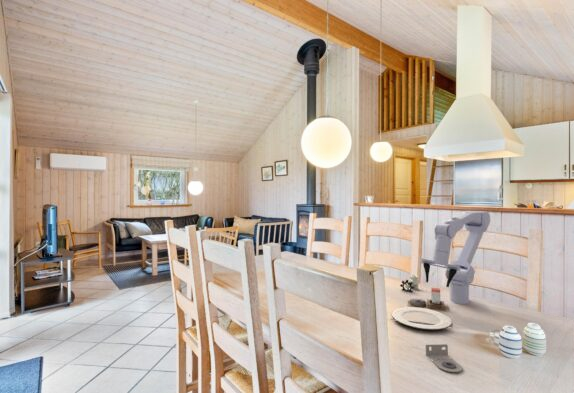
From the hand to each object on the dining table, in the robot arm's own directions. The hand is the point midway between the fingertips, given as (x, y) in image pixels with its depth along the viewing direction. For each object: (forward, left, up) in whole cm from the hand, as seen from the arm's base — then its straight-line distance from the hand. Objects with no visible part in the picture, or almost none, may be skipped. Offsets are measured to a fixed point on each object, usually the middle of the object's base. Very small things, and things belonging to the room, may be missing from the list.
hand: (437, 284), depth 128 cm
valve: (-26, -10, -11) cm, 30 cm away
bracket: (+42, 0, -12) cm, 44 cm away
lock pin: (-3, 0, -10) cm, 10 cm away
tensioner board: (-3, -3, -11) cm, 12 cm away
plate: (+13, -6, -11) cm, 19 cm away
